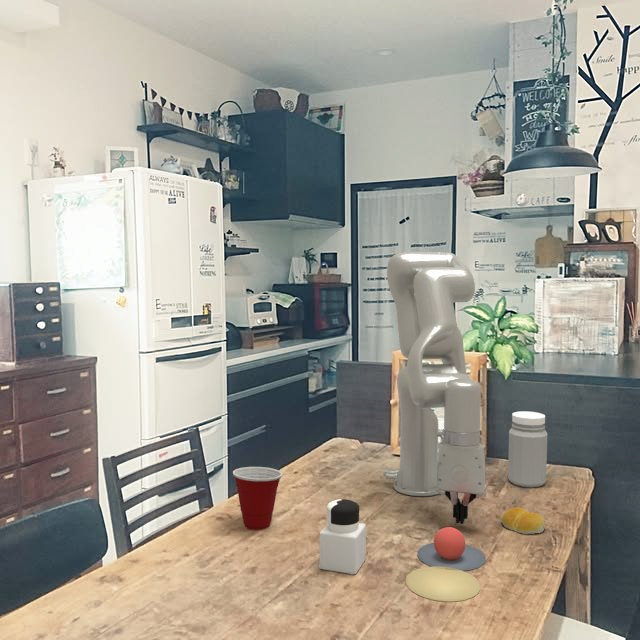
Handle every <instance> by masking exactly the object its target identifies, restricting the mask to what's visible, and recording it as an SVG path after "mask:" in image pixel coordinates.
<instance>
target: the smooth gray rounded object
mask: <svg viewBox="0 0 640 640" xmlns="http://www.w3.org/2000/svg"><path fill="white" fill-rule="evenodd" d="M417 558H418V559H419V560H420V561H421V562H422V563H423V564H425V565H426V566H428V567H434V566H439V567H447V568H448V567H449V568H454V569H458V570H461V571H464V572H468V571H473V570H474V571H475V570H477V569H479V568H481V567H483V566H484V565H485V563H486V560H487V558H486V554H485V553H484V552H483V551H481V550H480V549H478V548H476V547H474V546H472V545H469V544H466V543H465V550H464V552H463V554H462V555H461V556H460V557H459V558H457V559H454V560H447V559H444V558H442V557H441V556H440V555H439V554H438V553H437V552H436V550H435V547H434V542H431V543H428V544H425V545H422V546H420V548H419V549H418V550H417ZM447 568H446V569H447ZM442 569H444V568H442ZM448 570H450V569H448ZM451 570H452V569H451Z"/></svg>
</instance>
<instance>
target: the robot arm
mask: <svg viewBox="0 0 640 640" xmlns="http://www.w3.org/2000/svg"><path fill="white" fill-rule="evenodd" d="M386 278H387V285H388V288H389V290H390V291H389V292H390V294H391V297H392V299H393V301H394V305H395V310H396V318H397V319H396V321H397V322H396V323H397V331H398V341H399V348H400V353H401V355H402V356H403V357H404V358H405V359H407V362H406V366H404V367H403V368H402V369H401V368H400V370H399V371H398V374H397V377H396V386H397V394H398V399H399V411H400V412H399V414H400V415H399V417H400V419H399V422H400V423H399V425H400V426H399V427H400V428H399V429H400V431H399V468H396V469H390V468H384V469H383V470H382V472H383V473H382V475H383V477H385V479H389V480H394V481H393V489H394V490H395V491H396V492H398V493H401V494H403V495H408V496H413V497H414V496H415V497H430V496H436V495H439V494H440V495H443V496H446V498H447V499H448V500H449V501H450V502H451V504H452V518H453V519H455V524H461V525H464V523H465V520H468V516H469V513H468V512H469V504H470V503H472V502H473V501H474V500H475V499H482V498H487V497H486V496H487V495H488V494H487V489H486V479H487V478H486V477H487V476H486V475H487V474H486V458H485V450H484V446H483V443H481V409H482V407H481V403H482V401H481V399H482V398H481V397H482V396H481V395H482V388H481V387H482V386H481V385H480V383H479V382H478V381H477V380H474V379H472V378H471V377H470V376H469V375H467V368H466V359H465V349H464V341H463V335H462V332H461V330H460V329H459V327H458V323H457V322H458V321H457V317H456V312H455V307H454V304H455V303H467V302H468V303H469V302H470V301H471V300H472V299H473V297H474V296H475V291H476V283H475V279H474V276H473V274H472V271H471V270H470V269H469V267H468V266H467V265H466V264H465V263H464V262H463V261H462V260H461V258H459V257H458V256H457V255H456V254H455V253H452V252H447V251H402V252H399V253H396V254H394V255H392V256H391V257H390V258H389V261H388V262H387V268H386ZM423 360H424V361H425V360H441V362H442V363H438V364H436V363H435V364H434V363H426V364H424V363H423ZM434 408H436V409H437V408H440V409H441V408H443V410H444V412H443V415H444V416H443V417H444V419H443V429H440V430H439V419H438V416H437V415H436V413H435V412H434V411H433V410H432V409H434ZM439 438H442V441H441V442H440V443H439ZM459 493H460V494H463V498H462V499H460V498H459Z"/></svg>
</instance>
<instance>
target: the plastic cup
mask: <svg viewBox="0 0 640 640" xmlns="http://www.w3.org/2000/svg"><path fill="white" fill-rule="evenodd" d="M283 474H284V473H283V472H282V471H280V470H278V469H276V468H271V467H265V466H247V467H246V466H245V467H239V468H236V469H234V470H233V471H232V475H233V478H234V480H235V483H236V484H235V485H236V489H237V496H238V502H239V507H240V511H241V517H242V518H241V519H242V523H243V525H244V528H245V529H247V530H251V531H252V530H253V531H260V530H261V531H262V530H265V529H268V528H270V526H271V523H272V519H273V512H274V509H275V503H276V498H277V492H278V487H279V484H280V480H281V478H282V477H283Z"/></svg>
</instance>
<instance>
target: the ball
mask: <svg viewBox="0 0 640 640" xmlns="http://www.w3.org/2000/svg"><path fill="white" fill-rule="evenodd" d="M433 538H434V539H433V543H434V547H435V550H436V552H437V553H438V554H439V555H440V556H441V557H442V558H444V559H447V560H454V559H457V558H459V557H460V556H461V555H462V554H463V552H464V550H465V544H466V539H465V536H464V535H463V534H462V532H461V531H460V530H458V529H457V528H455V527H452V526H451V527H450V526H446V527H443V528H441V529H439V530H438V531H437V532H436V533H435V535H434V537H433Z"/></svg>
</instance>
